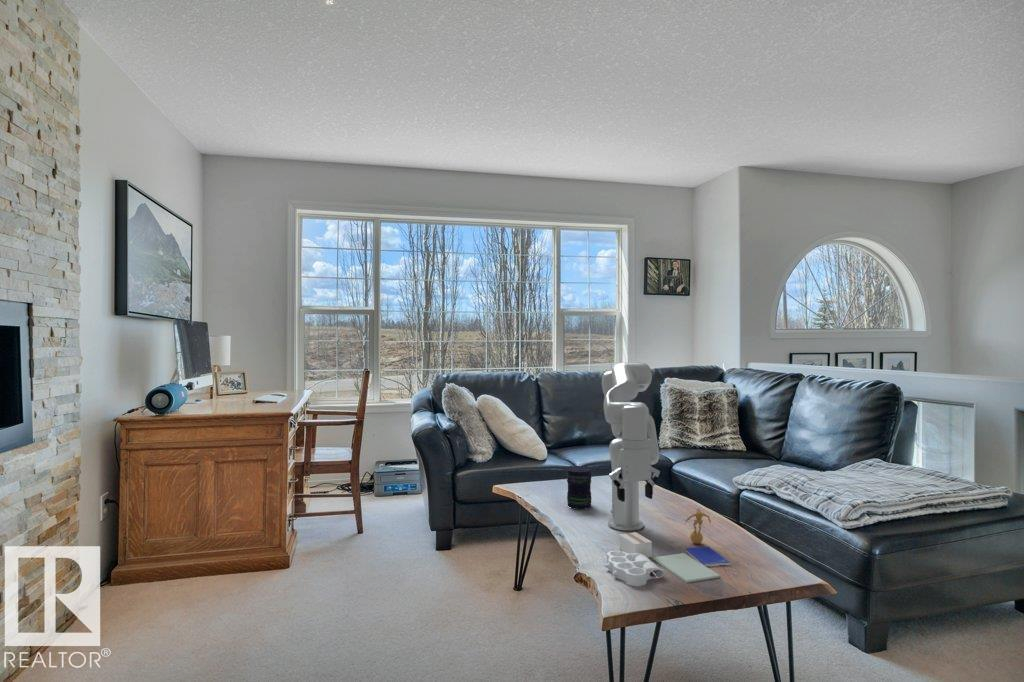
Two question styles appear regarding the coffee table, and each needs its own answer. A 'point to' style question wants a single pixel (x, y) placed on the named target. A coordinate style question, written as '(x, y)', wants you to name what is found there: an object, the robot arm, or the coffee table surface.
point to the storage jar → (579, 487)
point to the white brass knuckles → (632, 567)
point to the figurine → (696, 535)
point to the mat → (686, 567)
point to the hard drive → (707, 556)
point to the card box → (635, 544)
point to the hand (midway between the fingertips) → (635, 499)
